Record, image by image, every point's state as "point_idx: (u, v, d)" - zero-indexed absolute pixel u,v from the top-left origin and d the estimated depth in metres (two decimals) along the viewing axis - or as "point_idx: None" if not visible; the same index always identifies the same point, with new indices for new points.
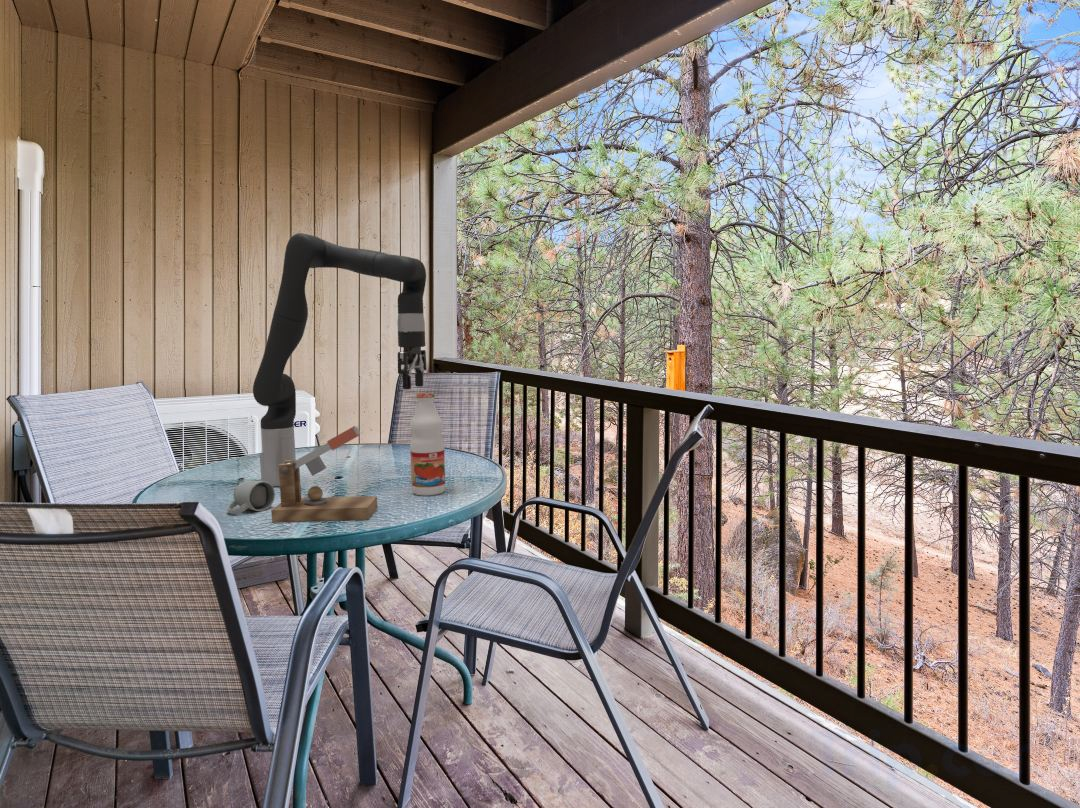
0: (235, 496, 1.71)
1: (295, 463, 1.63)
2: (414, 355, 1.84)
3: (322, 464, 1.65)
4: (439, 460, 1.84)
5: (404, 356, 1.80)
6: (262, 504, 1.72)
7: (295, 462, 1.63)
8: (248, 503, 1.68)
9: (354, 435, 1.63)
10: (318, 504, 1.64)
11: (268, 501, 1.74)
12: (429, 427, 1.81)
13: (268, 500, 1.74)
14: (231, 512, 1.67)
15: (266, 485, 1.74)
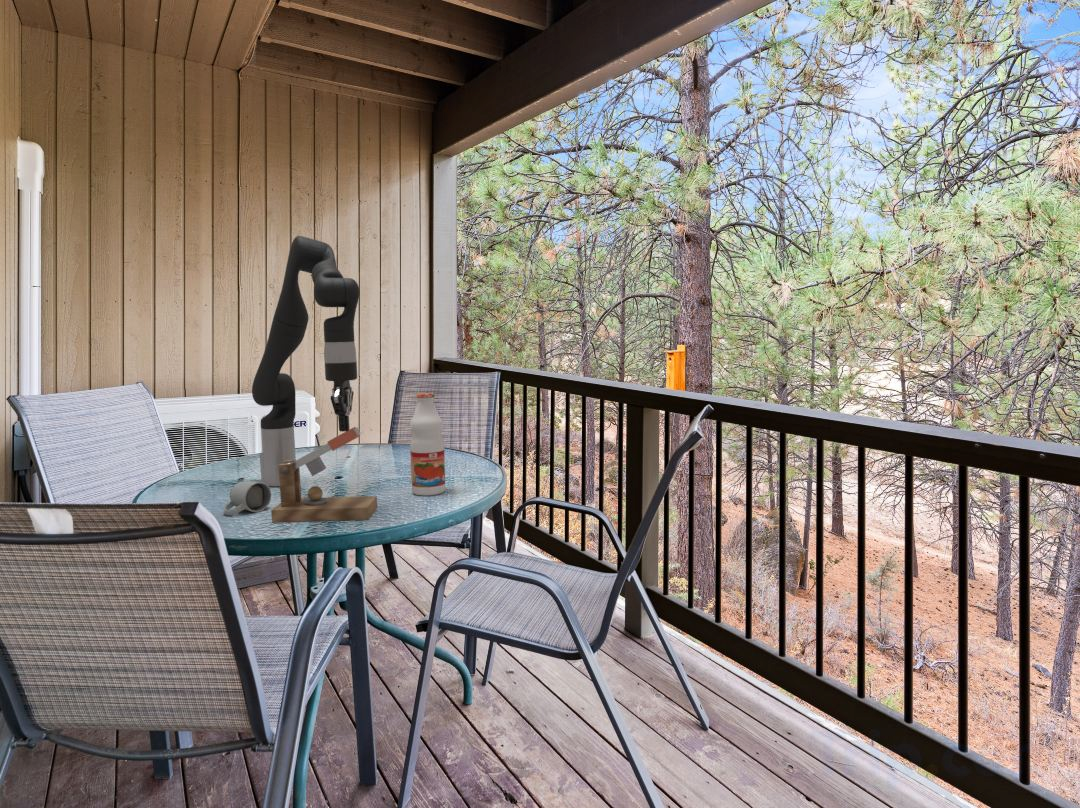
0: (231, 497, 1.70)
1: (295, 463, 1.63)
2: None
3: (322, 464, 1.65)
4: (439, 460, 1.84)
5: None
6: (258, 505, 1.71)
7: (295, 462, 1.63)
8: (244, 504, 1.67)
9: (354, 436, 1.63)
10: (318, 504, 1.64)
11: (264, 502, 1.73)
12: (429, 427, 1.81)
13: (264, 501, 1.73)
14: (227, 513, 1.66)
15: (262, 486, 1.73)
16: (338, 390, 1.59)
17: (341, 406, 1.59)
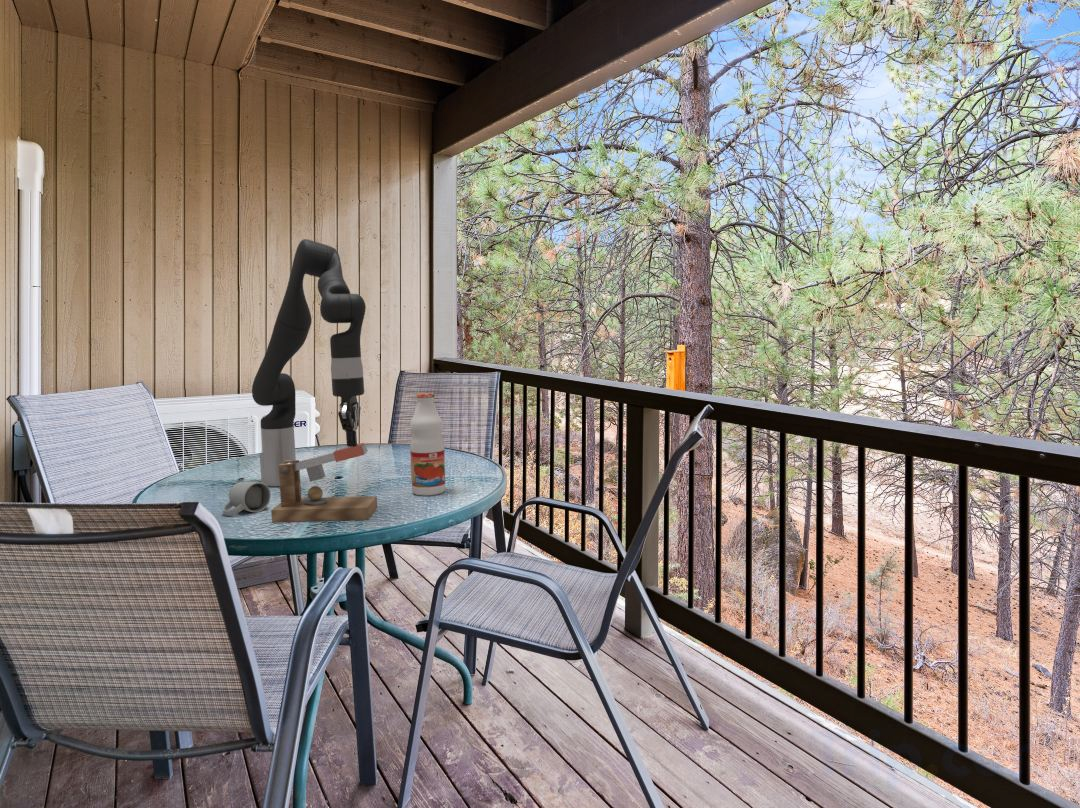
0: (230, 497, 1.70)
1: (296, 465, 1.63)
2: None
3: (322, 472, 1.65)
4: (439, 460, 1.84)
5: None
6: (257, 505, 1.71)
7: (297, 464, 1.63)
8: (243, 504, 1.67)
9: (361, 453, 1.63)
10: (318, 504, 1.64)
11: (263, 502, 1.73)
12: (429, 427, 1.81)
13: (264, 501, 1.73)
14: (226, 513, 1.66)
15: (262, 486, 1.73)
16: (345, 406, 1.59)
17: (349, 421, 1.59)
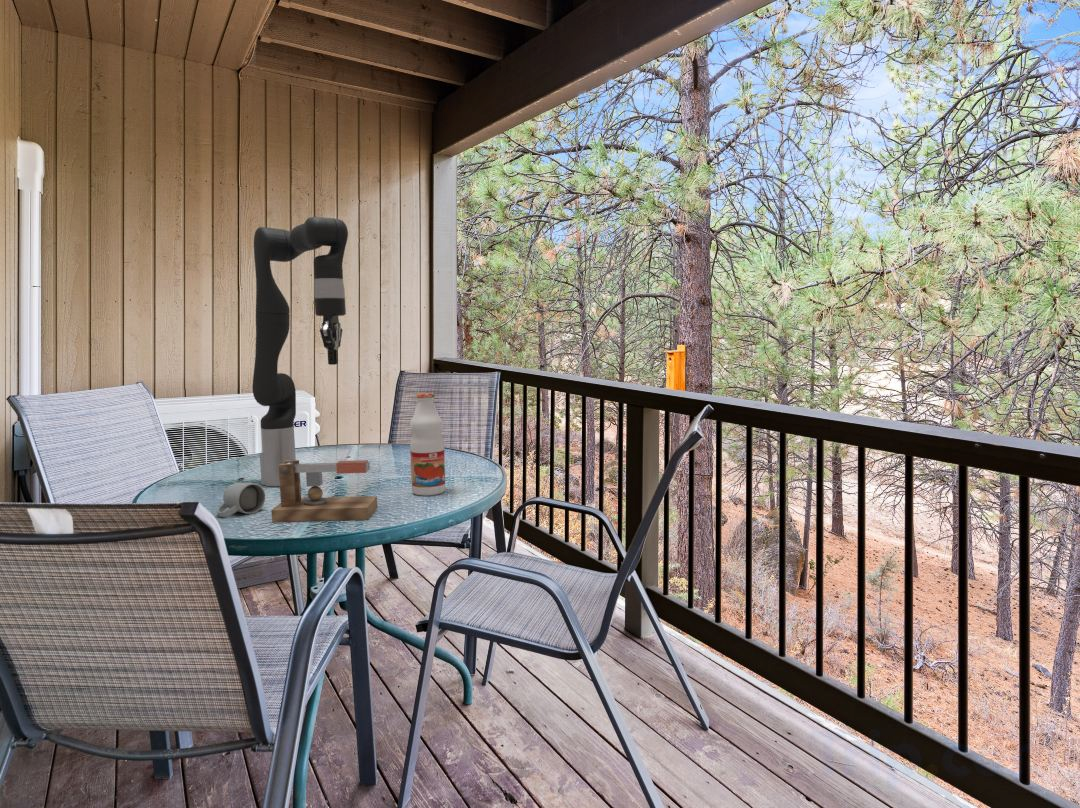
0: (225, 498, 1.69)
1: (297, 467, 1.63)
2: None
3: (320, 480, 1.65)
4: (439, 460, 1.84)
5: None
6: (252, 507, 1.70)
7: (298, 466, 1.63)
8: (237, 506, 1.65)
9: (363, 470, 1.64)
10: (318, 504, 1.64)
11: (258, 504, 1.71)
12: (429, 427, 1.81)
13: (258, 503, 1.72)
14: (220, 515, 1.65)
15: (256, 487, 1.71)
16: (327, 324, 1.68)
17: (330, 339, 1.68)
